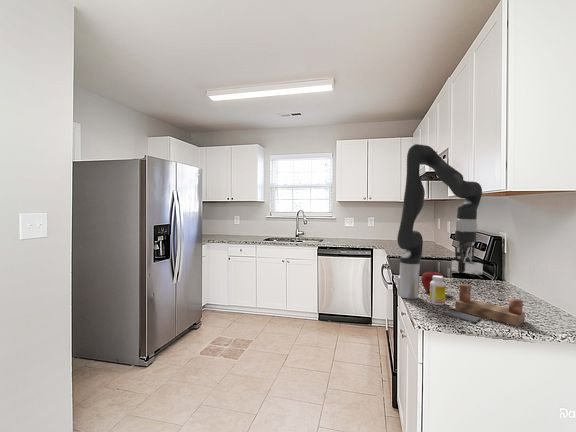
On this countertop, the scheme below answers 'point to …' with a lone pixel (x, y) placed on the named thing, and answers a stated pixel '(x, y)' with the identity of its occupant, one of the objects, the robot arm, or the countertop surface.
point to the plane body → (490, 308)
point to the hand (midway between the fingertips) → (464, 270)
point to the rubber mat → (461, 316)
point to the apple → (429, 279)
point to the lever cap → (469, 267)
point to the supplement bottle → (437, 290)
